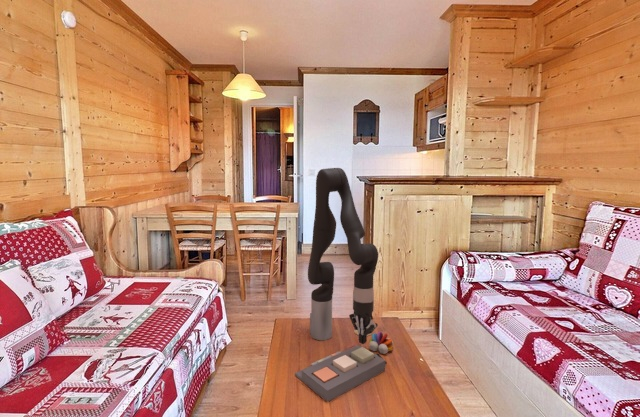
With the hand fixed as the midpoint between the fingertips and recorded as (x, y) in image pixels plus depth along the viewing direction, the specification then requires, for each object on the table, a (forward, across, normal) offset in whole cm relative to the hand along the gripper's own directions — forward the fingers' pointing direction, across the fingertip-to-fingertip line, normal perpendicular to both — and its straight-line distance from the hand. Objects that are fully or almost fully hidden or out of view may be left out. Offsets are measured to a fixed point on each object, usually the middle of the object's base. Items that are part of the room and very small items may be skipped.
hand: (362, 342), depth 129 cm
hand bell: (+10, -20, +20) cm, 30 cm away
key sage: (+7, 0, 0) cm, 7 cm away
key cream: (+7, 0, -9) cm, 11 cm away
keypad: (+10, -2, -9) cm, 13 cm away
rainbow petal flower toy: (+10, -5, +16) cm, 19 cm away
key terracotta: (+8, 0, -18) cm, 19 cm away
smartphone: (+10, -2, +4) cm, 11 cm away
